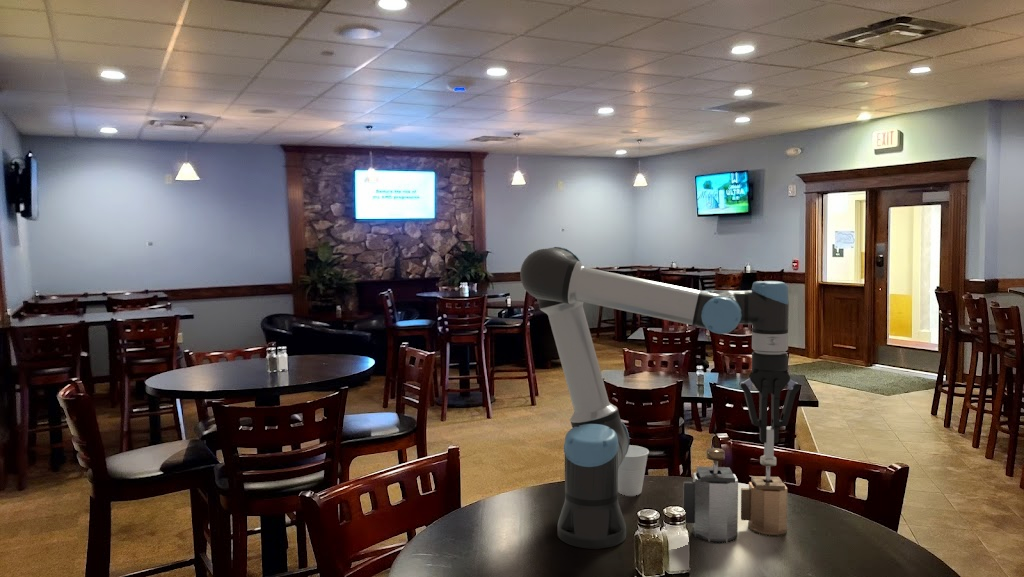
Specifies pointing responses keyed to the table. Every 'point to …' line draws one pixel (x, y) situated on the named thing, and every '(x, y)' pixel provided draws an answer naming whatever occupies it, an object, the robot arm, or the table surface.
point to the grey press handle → (767, 466)
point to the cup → (632, 471)
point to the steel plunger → (715, 458)
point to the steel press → (712, 504)
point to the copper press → (765, 506)
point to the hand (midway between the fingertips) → (768, 456)
